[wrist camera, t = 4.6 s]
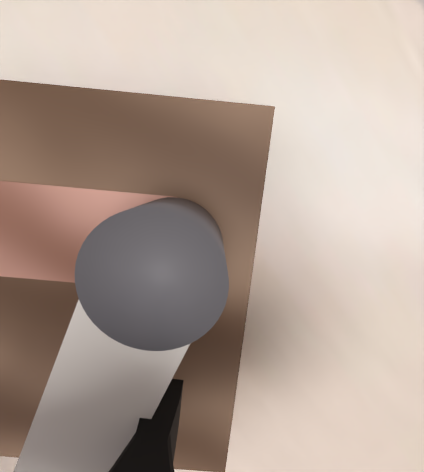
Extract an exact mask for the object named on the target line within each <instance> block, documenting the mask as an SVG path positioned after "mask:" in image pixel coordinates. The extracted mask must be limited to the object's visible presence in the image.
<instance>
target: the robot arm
mask: <svg viewBox="0 0 424 472" xmlns="http://www.w3.org/2000/svg"><path fill="white" fill-rule="evenodd" d="M183 381H184V380H179V379H172V380H171V382H170V384H169V386H168V388H167V390H166V392H165V393H164V395H163V397H162V399H161V401H160V403H159V405H158V407H157V409H156V411H155V413H154V415H153V417H152V419H147V418H139V422H138V426H137V430H136V433H135V434H134V436H133V437H132V439H131V440H130V442H129V443H128V445H127V446H126V447H125V449H124V450H123V452H122V453H121V455H120V456H119V458H118V459H117V460H116V462H115V463H114V465H113V466H112V468H111V469H110V470H109V472H174V466H173V461H174V455H175V448H176V441H177V434H178V427H179V419H180V409H181V400H182V390H183Z"/></svg>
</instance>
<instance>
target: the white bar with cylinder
mask: <svg viewBox="0 0 424 472" xmlns="http://www.w3.org/2000/svg"><path fill="white" fill-rule="evenodd" d="M75 286H76V291H77V295H78V298H79V300H78V302H77V305H76V308H75V310H74V313H73V316H72V318H71V321H70V324H69V326H68V329H67V332H66V334H65V337H64V340H63V342H62V345H61V347H60V350H59V353H58V355H57V358H56V361H55V363H54V366H53V369H52V371H51V374H50V377H49V379H48V382H47V385H46V387H45V390H44V393H43V395H42V398H41V401H40V403H39V406H38V409H37V411H36V414H35V417H34V419H33V422H32V424H31V427H30V430H29V432H28V435H27V438H26V440H25V443H24V446H23V448H22V451H21V454H20V456H19V459H18V462H17V464H16V467H15V470H14V472H109V470H110V469H111V468H112V466H113V465H114V463H115V462H116V460H117V459H118V458H119V456H120V455H121V453H122V452H123V450H124V449H125V447H126V446H127V445H128V443H129V442H130V440H131V439H132V437H133V436H134V434H135V433H136V430H137V426H138V422H139V418H147V419H152V417H153V415H154V413H155V411H156V409H157V407H158V405H159V403H160V401H161V399H162V397H163V395H164V393H165V392H166V390H167V388H168V386H169V384H170V382H171V380H172V378H173V376H174V374H175V372H176V370H177V368H178V366H179V364H180V363H181V361H182V359H183V357H184V355H185V353H186V351H187V349H188V347H189V345H190V343H192V342H194V341H196V340H198V339H199V338H201V337H202V336H203V335H205V334H206V333H207V332H208V331H209V330H210V329H211V328H212V327H213V326H214V324H215V323H216V322H217V321H218V319H219V317H220V316H221V314H222V312H223V310H224V307H225V305H226V301H227V298H228V291H229V276H228V269H227V263H226V257H225V251H224V244H223V238H222V234H221V231H220V228H219V226H218V224H217V222H216V221H215V219H214V218H213V217H212V215H211V214H210V213H209V212H208V211H207V210H206V209H204V208H203V207H202V206H200V205H198V204H197V203H195V202H193V201H190V200H187V199H183V198H177V197H166V198H160V199H157V200H154V201H151V202H148V203H145V204H142V205H139V206H136V207H134V208H131V209H128V210H125V211H122V212H119V213H117V214H115V215H113V216H110V217H109V218H107V219H106V220H104V221H102V222H101V223H100V224H99V225H98V226H96V227H95V228H94V229H93V230H92V231H91V233H90V234H89V235H88V236H87V237H86V239H85V241H84V242H83V244H82V246H81V248H80V250H79V253H78V256H77V259H76V264H75Z"/></svg>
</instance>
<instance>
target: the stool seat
mask: <svg viewBox="0 0 424 472" xmlns="http://www.w3.org/2000/svg"><path fill="white" fill-rule="evenodd" d="M274 109H275V107H274V106H264V105H254V104H243V103H233V102H223V101H213V100H203V99H192V98H182V97H172V96H162V95H152V94H141V93H131V92H121V91H111V90H101V89H90V88H80V87H70V86H60V85H50V84H39V83H29V82H19V81H9V80H0V456H6V457H19V456H20V454H21V451H22V448H23V446H24V443H25V440H26V438H27V435H28V432H29V430H30V427H31V424H32V422H33V419H34V417H35V414H36V411H37V409H38V406H39V403H40V401H41V398H42V395H43V393H44V390H45V387H46V385H47V382H48V379H49V377H50V374H51V371H52V369H53V366H54V363H55V361H56V358H57V355H58V353H59V350H60V347H61V345H62V342H63V340H64V337H65V334H66V332H67V329H68V326H69V324H70V321H71V318H72V316H73V313H74V310H75V308H76V305H77V302H78V300H79V298H78V295H77V291H76V286H75V264H76V259H77V256H78V253H79V250H80V248H81V246H82V244H83V242H84V241H85V239H86V237H87V236H88V235H89V234H90V233H91V231H92V230H93V229H94V228H95V227H96V226H98V225H99V224H100V223H101V222H102V221H104V220H106V219H107V218H109V217H110V216H113V215H115V214H117V213H119V212H122V211H125V210H128V209H131V208H134V207H136V206H139V205H142V204H145V203H148V202H151V201H154V200H157V199H160V198H166V197H177V198H183V199H187V200H190V201H193V202H195V203H197V204H198V205H200V206H202V207H203V208H204V209H206V210H207V211H208V212H209V213H210V214H211V215H212V217H213V218H214V219H215V221H216V222H217V224H218V226H219V228H220V231H221V234H222V238H223V244H224V251H225V257H226V263H227V269H228V276H229V291H228V298H227V301H226V305H225V307H224V310H223V312H222V314H221V316H220V317H219V319H218V321H217V322H216V323H215V324H214V326H213V327H212V328H211V329H210V330H209V331H208V332H207V333H206V334H205V335H203V336H202V337H201V338H199V339H198V340H196V341H194V342H192V343H190V345H189V347H188V349H187V351H186V353H185V355H184V357H183V359H182V361H181V363H180V364H179V366H178V368H177V370H176V372H175V374H174V376H173V378H172V379H179V380H184V381H183V390H182V400H181V409H180V419H179V427H178V434H177V441H176V448H175V455H174V461H173V466H174V469H184V470H198V471H211V472H225V467H226V460H227V453H228V445H229V438H230V431H231V424H232V416H233V409H234V402H235V394H236V387H237V380H238V372H239V365H240V358H241V350H242V343H243V336H244V328H245V321H246V314H247V307H248V299H249V292H250V285H251V277H252V270H253V263H254V255H255V248H256V241H257V233H258V226H259V219H260V211H261V204H262V197H263V190H264V182H265V175H266V168H267V160H268V153H269V146H270V138H271V131H272V124H273V116H274Z"/></svg>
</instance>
